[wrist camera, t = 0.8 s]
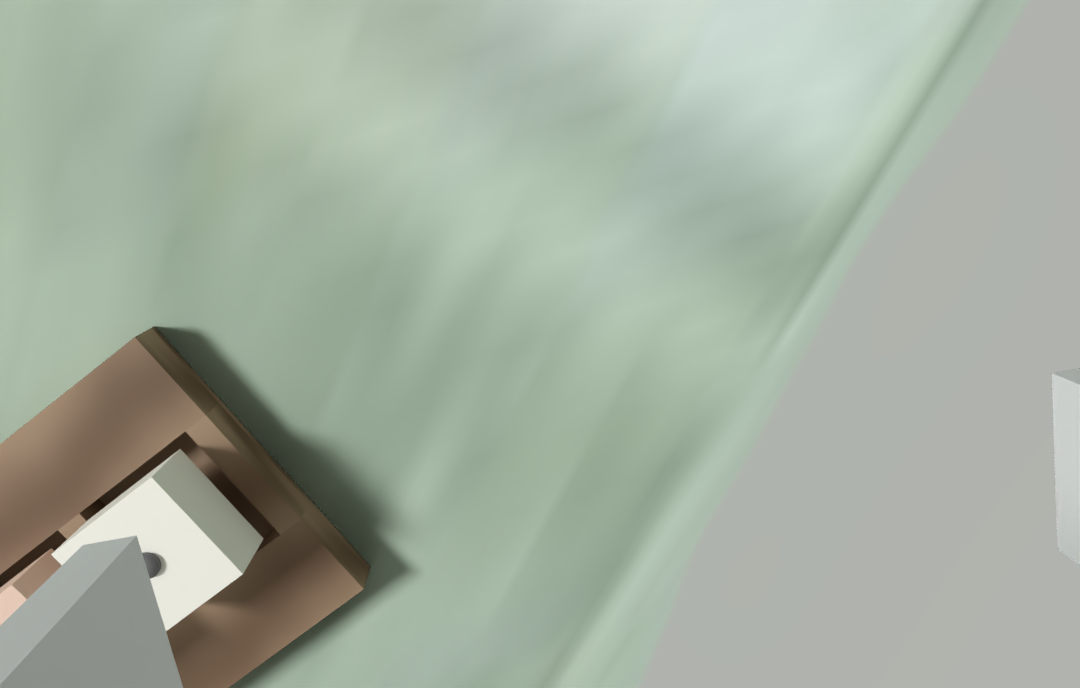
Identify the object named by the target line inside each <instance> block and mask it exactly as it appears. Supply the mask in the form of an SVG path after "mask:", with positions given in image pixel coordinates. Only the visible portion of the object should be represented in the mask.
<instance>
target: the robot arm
mask: <svg viewBox="0 0 1080 688" xmlns="http://www.w3.org/2000/svg"><path fill="white" fill-rule="evenodd" d="M1052 390H1053V421H1054V453H1055V484H1056V514H1057V515H1056V516H1057V545H1058V546H1057V547H1058V550H1060V551H1061V552H1063V553H1064V554H1065V555H1067V556H1068V557H1069V558H1071V559H1072V560H1073V561H1075V562H1076V563H1077V564H1079V565H1080V368H1078V369H1072V370H1067V371H1061V372H1056V373H1052ZM0 688H183V685H182V682H181V679H180V676H179V672H178V669H177V666H176V663H175V659H174V656H173V653H172V649H171V646H170V643H169V640H168V636H167V633H166V630H165V626H164V623H163V620H162V617H161V613H160V610H159V607H158V604H157V600H156V597H155V594H154V590H153V587H152V584H151V581H150V577H149V574H148V571H147V568H146V564H145V561H144V558H143V554H142V551H141V548H140V545H139V541H138V538H137V535H136V536H131V537H125V538H119V539H114V540H108V541H102V542H97V543H91V544H86V545H82V546H81V547H80V548H79V549H78V550H77V551H76V552H75V553H74V554H73V555H72V556H71V557H70V558H69V559H68V560H67V561H66V562H65V563H64V564H63V565H62V566H61V567H60V568H59V569H58V570H57V571H56V572H55V573H54V574H53V575H52V576H51V577H50V578H49V579H48V580H47V581H46V582H45V583H44V584H42V585H41V586H40V587H39V588H38V589H37V590H36V591H35V592H34V593H33V594H32V595H31V596H30V597H29V598H28V599H27V600H26V601H25V602H24V603H23V604H22V605H21V606H20V607H19V608H18V609H17V610H16V611H15V612H14V613H13V614H12V615H11V616H10V617H9V618H8V619H7V620H6V621H5V622H4V623H3V624H2V625H0Z"/></svg>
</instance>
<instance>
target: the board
mask: <svg viewBox="0 0 1080 688" xmlns="http://www.w3.org/2000/svg"><path fill="white" fill-rule="evenodd" d="M179 449H181V450H182V451H183V452H184V453H185V454H186V455H187V456H188V458H189V459H190V460H191V461H192V462H193V463H194V464H195V465H196V466H197V467H198V468H199V469H200V471H201V472H202V473H203V474H204V475H205V476H206V477H207V478H208V479H209V480H210V481H211V482H212V483H213V485H214V486H215V487H216V488H217V489H218V490H219V491H220V492H221V493H222V494H223V495H224V496H225V497H226V499H227V500H228V501H229V502H230V503H231V504H232V505H233V506H234V507H235V508H236V509H237V510H238V512H239V513H240V514H241V515H242V516H243V517H244V518H245V519H246V520H247V521H248V522H249V523H250V524H251V526H252V527H253V528H254V529H255V530H256V531H257V532H258V533H259V534H260V535H261V536H262V537H263V541H262V542H261V544H260V546H259V547H258V549H257V551H256V553H255V554H254V556H253V558H252V559H251V561H250V563H249V565H248V566H247V568H246V570H245V571H244V573H243V574H242V575H241V576H240V577H238V578H237V579H236V580H234V581H233V582H232V583H230V584H229V585H228V586H226V587H225V588H224V589H222V590H221V591H220V592H218V593H217V594H216V595H214V596H213V597H212V598H210V599H209V600H207V601H206V602H205V603H203V604H202V605H201V606H199V607H198V608H197V609H195V610H194V611H193V612H191V613H190V614H189V615H187V616H186V617H185V618H183V619H182V620H181V621H179V622H178V623H177V624H175V625H174V626H173V627H171V628H170V629H169V630H167V631H166V633H167V636H168V640H169V643H170V646H171V649H172V653H173V656H174V659H175V663H176V666H177V669H178V672H179V676H180V679H181V682H182V685H183V688H229V687H230V686H232V685H233V684H234V683H236V682H237V681H238V680H240V679H241V678H243V677H244V676H245V675H247V674H248V673H249V672H251V671H252V670H254V669H255V668H256V667H258V666H259V665H260V664H262V663H263V662H265V661H266V660H267V659H269V658H270V657H271V656H273V655H274V654H276V653H277V652H278V651H280V650H281V649H282V648H284V647H285V646H287V645H288V644H289V643H291V642H292V641H293V640H295V639H296V638H298V637H299V636H300V635H302V634H303V633H304V632H306V631H307V630H309V629H310V628H311V627H313V626H314V625H315V624H317V623H318V622H319V621H321V620H322V619H324V618H325V617H326V616H328V615H329V614H330V613H332V612H333V611H335V610H336V609H337V608H339V607H340V606H341V605H343V604H344V603H346V602H347V601H348V600H350V599H351V598H352V597H354V596H355V595H357V594H358V593H359V592H361V591H362V590H363V589H364V587H365V583H366V580H367V577H368V573H369V570H370V566H369V565H368V564H367V562H366V561H365V560H364V559H363V558H362V557H361V556H360V555H359V554H358V552H357V551H356V550H355V549H354V548H353V547H352V546H351V545H350V544H349V542H348V541H347V540H346V539H345V538H344V537H343V536H342V535H341V534H340V532H339V531H338V530H337V529H336V528H335V527H334V526H333V525H332V524H331V522H330V521H329V520H328V519H327V518H326V517H325V516H324V515H323V514H322V512H321V511H320V510H319V509H318V508H317V507H316V506H315V505H314V504H313V502H312V501H311V500H310V499H309V498H308V497H307V496H306V495H305V494H304V492H303V491H302V490H301V489H300V488H299V487H298V486H297V485H296V484H295V482H294V481H293V480H292V479H291V478H290V477H289V476H288V475H287V474H286V472H285V471H284V470H283V469H282V468H281V467H280V466H279V465H278V464H277V462H276V461H275V460H274V459H273V458H272V457H271V456H270V455H269V453H268V452H267V451H266V450H265V449H264V448H263V447H262V446H261V445H260V443H259V442H258V441H257V440H256V439H255V438H254V437H253V436H252V435H251V433H250V432H249V431H248V430H247V429H246V428H245V427H244V426H243V425H242V423H241V422H240V421H239V420H238V419H237V418H236V417H235V416H234V415H233V413H232V412H231V411H230V410H229V409H228V408H227V407H226V406H225V405H224V403H223V402H222V401H221V400H220V399H219V398H218V397H217V396H216V395H215V393H214V392H213V391H212V390H211V389H210V388H209V387H208V386H207V385H206V383H205V382H204V381H203V380H202V379H201V378H200V377H199V376H198V375H197V373H196V372H195V371H194V370H193V369H192V368H191V367H190V366H189V365H188V363H187V362H186V361H185V360H184V359H183V358H182V357H181V356H180V354H179V353H178V352H177V351H176V350H175V349H174V348H173V347H172V346H171V344H170V343H169V342H168V341H167V340H166V339H165V338H164V337H163V336H162V334H161V333H160V332H159V331H158V330H157V329H156V328H155V327H152V328H151V329H149V330H147V331H145V332H143V333H142V334H140V335H138V336H136V337H134V338H133V339H132V340H131V341H129V342H128V343H127V344H126V345H124V346H123V347H122V348H121V349H119V350H118V351H117V352H116V353H114V354H113V355H112V356H111V357H109V358H108V359H107V360H106V361H104V362H103V363H102V364H101V365H99V366H98V367H97V368H96V369H94V370H93V371H92V372H90V373H89V374H88V375H87V376H85V377H84V378H83V379H82V380H80V381H79V382H78V383H77V384H75V385H74V386H73V387H72V388H70V389H69V390H68V391H67V392H65V393H64V394H63V395H62V396H60V397H59V398H58V399H57V400H55V401H54V402H53V403H51V404H50V405H49V406H48V407H46V408H45V409H44V410H43V411H41V412H40V413H39V414H38V415H36V416H35V417H34V418H33V419H31V420H30V421H29V422H28V423H26V424H25V425H24V426H23V427H21V428H20V429H19V430H18V431H16V432H15V433H14V434H12V435H11V436H10V437H9V438H7V439H6V440H5V441H4V442H2V443H1V444H0V587H2V586H3V585H4V584H6V583H7V582H8V581H10V580H11V579H12V578H13V577H15V576H16V575H17V574H19V573H20V572H21V571H23V570H24V569H25V568H26V567H28V566H29V565H30V564H32V563H33V562H34V561H35V560H37V559H38V558H39V557H41V556H42V555H43V554H45V553H46V552H47V551H48V550H50V549H51V548H52V549H53V550H54V551H55V550H56V549H57V548H58V547H60V546H61V545H62V544H63V543H64V542H65V541H66V540H67V539H68V538H69V537H70V536H71V535H72V534H73V533H75V532H76V531H77V530H78V529H79V528H80V527H81V526H82V525H83V524H84V523H85V522H86V521H87V520H89V519H90V518H91V517H92V516H94V515H95V514H96V513H98V512H99V511H100V510H102V509H103V508H104V507H105V506H107V505H108V504H109V503H111V502H112V501H113V500H115V499H116V498H117V497H118V496H120V495H121V494H122V493H124V492H125V491H126V490H127V489H129V488H130V487H131V486H133V485H134V484H135V483H137V482H138V481H139V480H140V479H142V478H143V477H144V476H146V475H147V474H148V473H150V472H151V471H152V470H153V469H155V468H156V467H157V466H159V465H160V464H161V463H162V462H164V461H165V460H166V459H168V458H169V457H170V456H172V455H173V454H174V453H175V452H177V451H178V450H179Z"/></svg>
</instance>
